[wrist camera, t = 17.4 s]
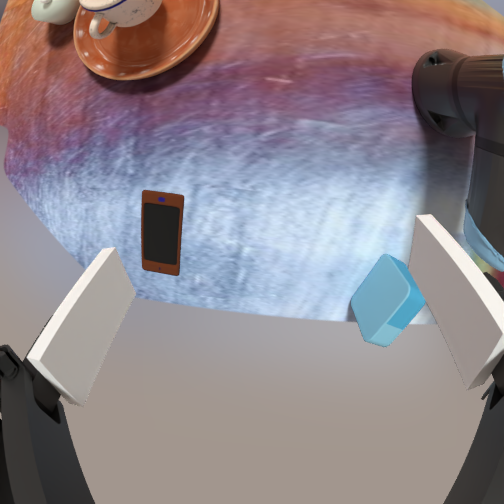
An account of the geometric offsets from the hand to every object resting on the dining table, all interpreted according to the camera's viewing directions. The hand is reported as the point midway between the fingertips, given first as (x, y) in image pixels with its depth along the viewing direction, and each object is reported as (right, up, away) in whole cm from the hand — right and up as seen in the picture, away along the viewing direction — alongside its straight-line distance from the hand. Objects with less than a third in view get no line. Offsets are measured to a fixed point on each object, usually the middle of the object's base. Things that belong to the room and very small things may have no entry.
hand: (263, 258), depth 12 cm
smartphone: (-16, +3, +36) cm, 39 cm away
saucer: (-16, +36, +18) cm, 43 cm away
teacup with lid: (-17, +34, +15) cm, 41 cm away
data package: (+22, -5, +39) cm, 45 cm away
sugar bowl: (-32, +42, +15) cm, 55 cm away
